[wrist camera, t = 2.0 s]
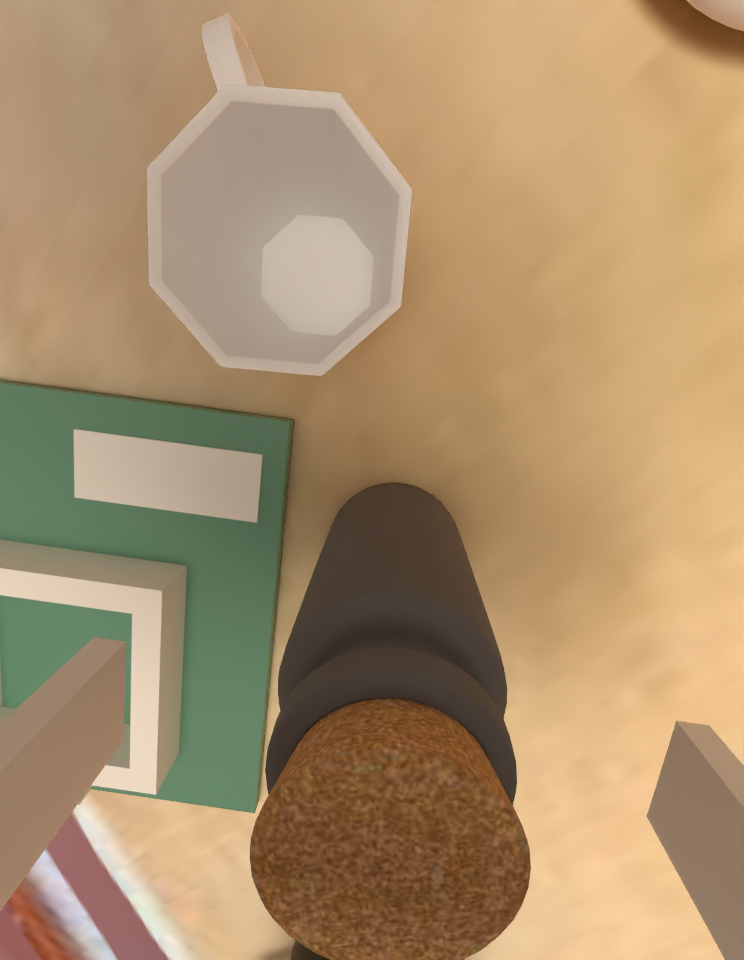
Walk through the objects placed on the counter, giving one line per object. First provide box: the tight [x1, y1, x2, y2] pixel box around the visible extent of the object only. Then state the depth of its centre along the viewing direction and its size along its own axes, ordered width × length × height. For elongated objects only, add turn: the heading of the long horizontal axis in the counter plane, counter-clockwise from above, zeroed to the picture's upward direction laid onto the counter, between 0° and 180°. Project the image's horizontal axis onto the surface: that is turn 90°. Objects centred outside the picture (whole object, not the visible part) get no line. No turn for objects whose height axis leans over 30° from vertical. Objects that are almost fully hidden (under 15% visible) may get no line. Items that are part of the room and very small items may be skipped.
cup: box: [147, 12, 412, 376], centre depth 16 cm, size 7×10×8 cm
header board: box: [0, 380, 293, 813], centre depth 23 cm, size 20×14×3 cm
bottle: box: [250, 484, 531, 960], centre depth 16 cm, size 6×6×15 cm
